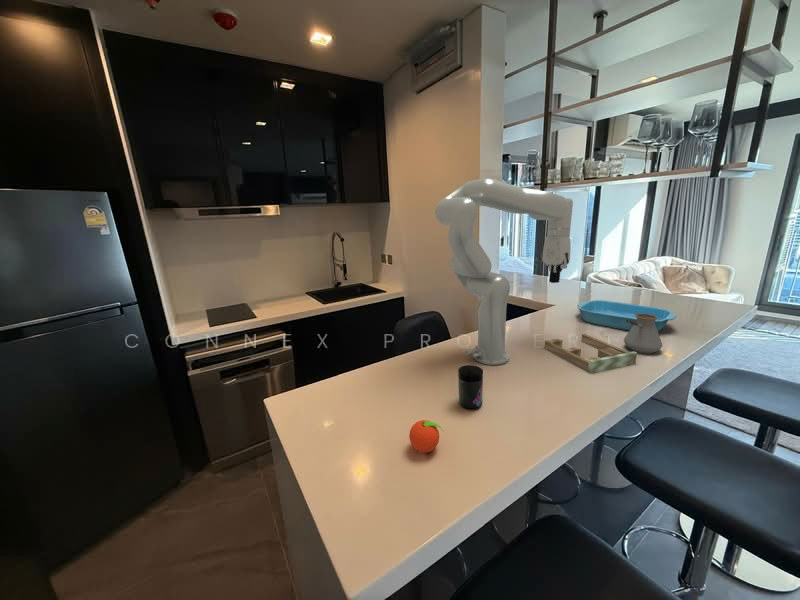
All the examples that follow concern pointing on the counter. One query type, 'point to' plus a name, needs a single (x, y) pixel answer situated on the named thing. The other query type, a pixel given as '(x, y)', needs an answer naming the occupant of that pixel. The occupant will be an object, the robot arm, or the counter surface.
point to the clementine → (424, 436)
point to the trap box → (591, 363)
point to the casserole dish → (620, 314)
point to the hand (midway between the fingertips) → (554, 282)
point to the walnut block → (607, 352)
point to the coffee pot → (643, 334)
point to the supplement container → (470, 386)
